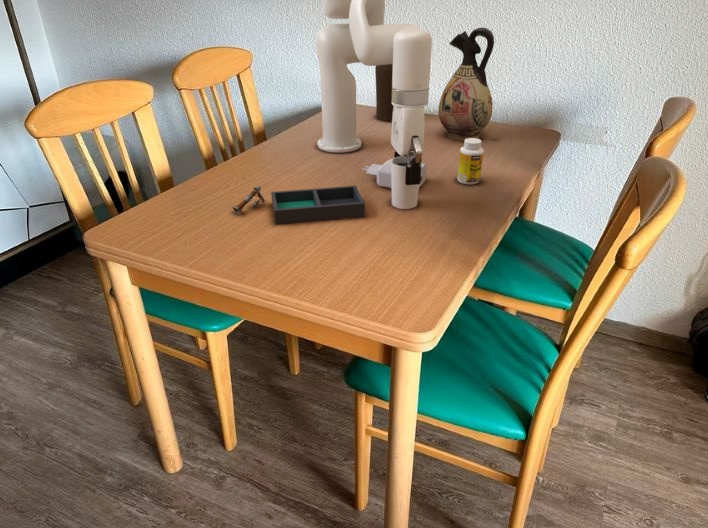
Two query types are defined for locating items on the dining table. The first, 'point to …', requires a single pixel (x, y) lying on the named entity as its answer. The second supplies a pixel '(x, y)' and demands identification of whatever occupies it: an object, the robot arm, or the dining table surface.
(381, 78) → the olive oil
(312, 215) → the grey divided tray
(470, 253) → the dining table surface
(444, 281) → the dining table surface
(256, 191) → the wooden post with brackets
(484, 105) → the ceramic jug
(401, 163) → the coffee cup
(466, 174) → the supplement bottle
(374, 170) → the charger
